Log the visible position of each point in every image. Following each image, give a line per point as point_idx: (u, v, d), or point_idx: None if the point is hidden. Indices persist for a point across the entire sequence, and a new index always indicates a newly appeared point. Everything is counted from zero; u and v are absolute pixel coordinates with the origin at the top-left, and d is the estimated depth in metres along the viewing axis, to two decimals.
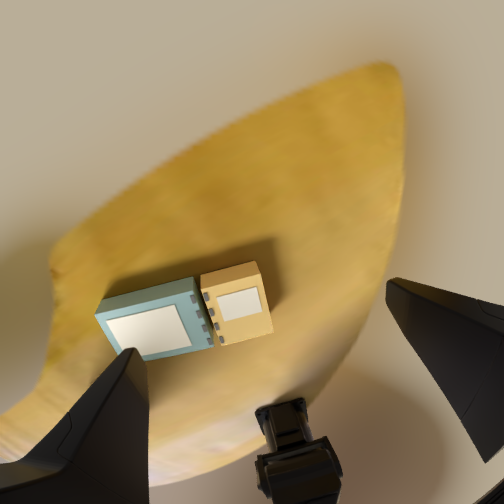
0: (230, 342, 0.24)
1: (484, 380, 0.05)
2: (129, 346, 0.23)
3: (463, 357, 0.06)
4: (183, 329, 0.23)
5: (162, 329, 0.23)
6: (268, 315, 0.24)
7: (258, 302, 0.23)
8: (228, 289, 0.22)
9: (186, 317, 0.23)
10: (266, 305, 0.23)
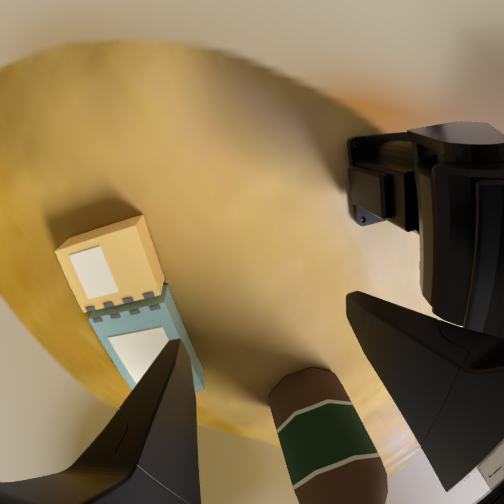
0: (154, 283, 0.17)
1: (441, 410, 0.05)
2: None
3: (419, 383, 0.06)
4: (139, 332, 0.19)
5: (141, 352, 0.19)
6: (107, 236, 0.16)
7: (87, 252, 0.16)
8: (77, 285, 0.16)
9: (122, 328, 0.18)
10: (92, 240, 0.15)
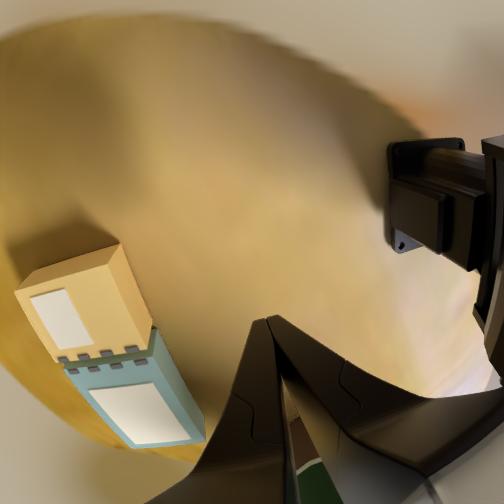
0: (138, 336, 0.12)
1: (336, 460, 0.05)
2: (169, 435, 0.16)
3: (318, 426, 0.06)
4: (124, 387, 0.14)
5: (129, 406, 0.14)
6: (72, 277, 0.11)
7: (50, 296, 0.11)
8: (44, 333, 0.12)
9: (103, 381, 0.13)
10: (54, 281, 0.11)
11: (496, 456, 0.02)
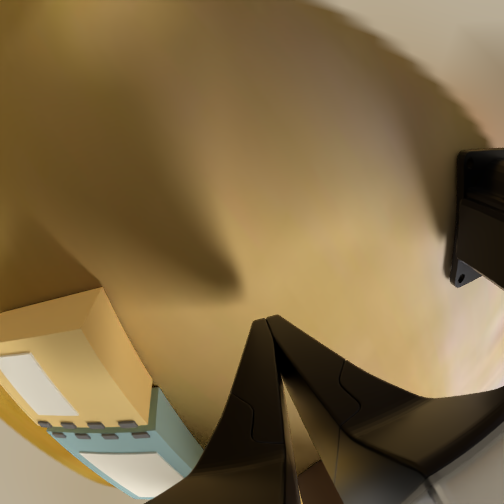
0: (134, 412, 0.08)
1: (336, 460, 0.05)
2: None
3: (318, 426, 0.06)
4: (122, 454, 0.10)
5: (129, 470, 0.10)
6: (36, 340, 0.07)
7: (14, 359, 0.07)
8: (17, 396, 0.07)
9: (96, 447, 0.09)
10: (16, 342, 0.07)
11: (496, 456, 0.02)
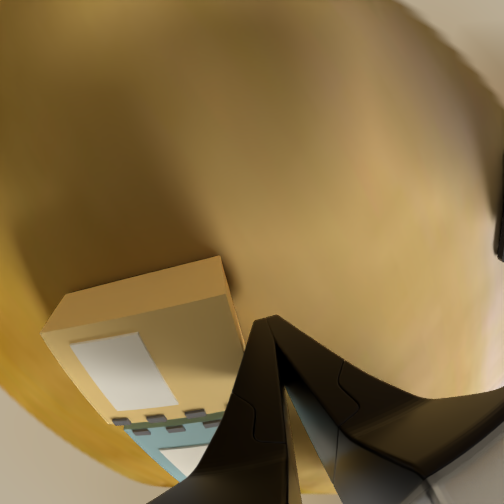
0: None
1: (335, 460, 0.05)
2: None
3: (317, 426, 0.06)
4: None
5: None
6: (153, 314, 0.07)
7: (109, 343, 0.07)
8: (93, 391, 0.08)
9: (185, 440, 0.10)
10: (118, 321, 0.07)
11: (495, 457, 0.02)
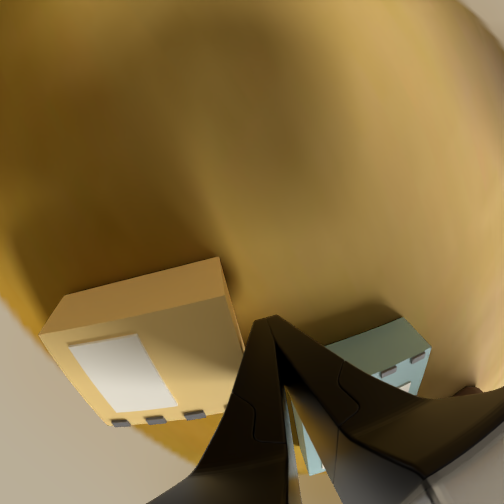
0: None
1: (335, 460, 0.05)
2: None
3: (317, 426, 0.06)
4: None
5: None
6: (152, 316, 0.07)
7: (107, 344, 0.07)
8: (92, 393, 0.08)
9: None
10: (117, 323, 0.07)
11: (495, 457, 0.02)
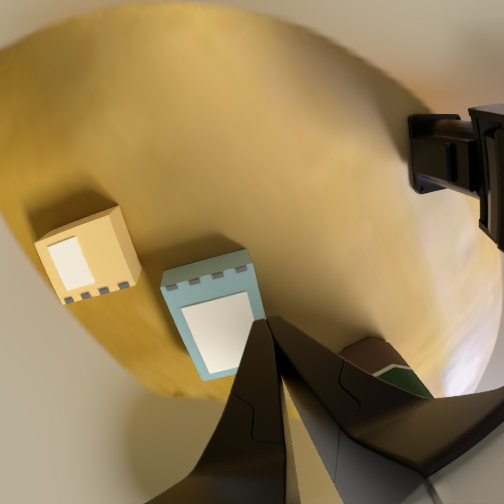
0: (128, 273, 0.17)
1: (336, 460, 0.05)
2: None
3: (318, 426, 0.06)
4: (219, 300, 0.19)
5: (217, 323, 0.19)
6: (81, 226, 0.15)
7: (64, 243, 0.15)
8: (56, 277, 0.16)
9: (199, 296, 0.18)
10: (68, 231, 0.15)
11: (496, 456, 0.02)
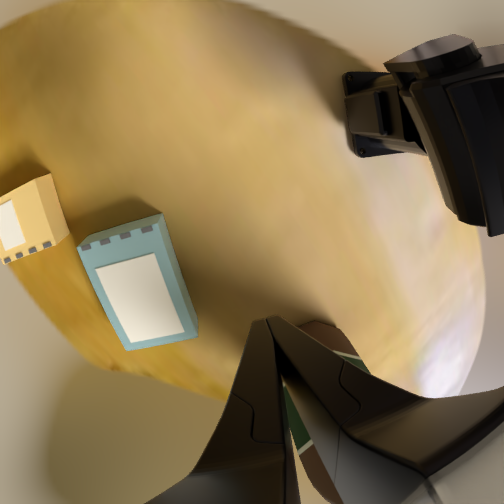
0: (50, 233, 0.16)
1: (336, 460, 0.05)
2: (163, 326, 0.20)
3: (318, 426, 0.06)
4: (129, 261, 0.18)
5: (130, 286, 0.18)
6: (15, 190, 0.14)
7: (2, 206, 0.14)
8: None
9: (111, 256, 0.17)
10: (6, 195, 0.14)
11: (496, 456, 0.02)
